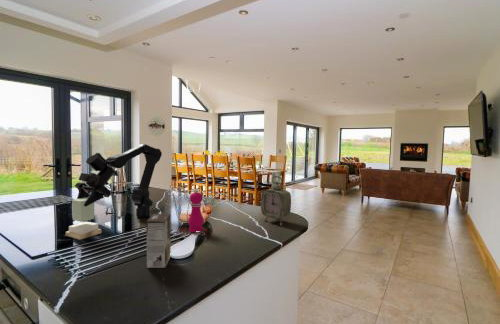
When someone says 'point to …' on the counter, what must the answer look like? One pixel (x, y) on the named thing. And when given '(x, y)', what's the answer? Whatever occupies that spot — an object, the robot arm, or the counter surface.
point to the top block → (83, 227)
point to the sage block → (82, 210)
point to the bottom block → (82, 236)
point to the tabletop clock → (276, 202)
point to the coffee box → (158, 240)
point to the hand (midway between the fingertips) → (80, 205)
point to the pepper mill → (196, 212)
